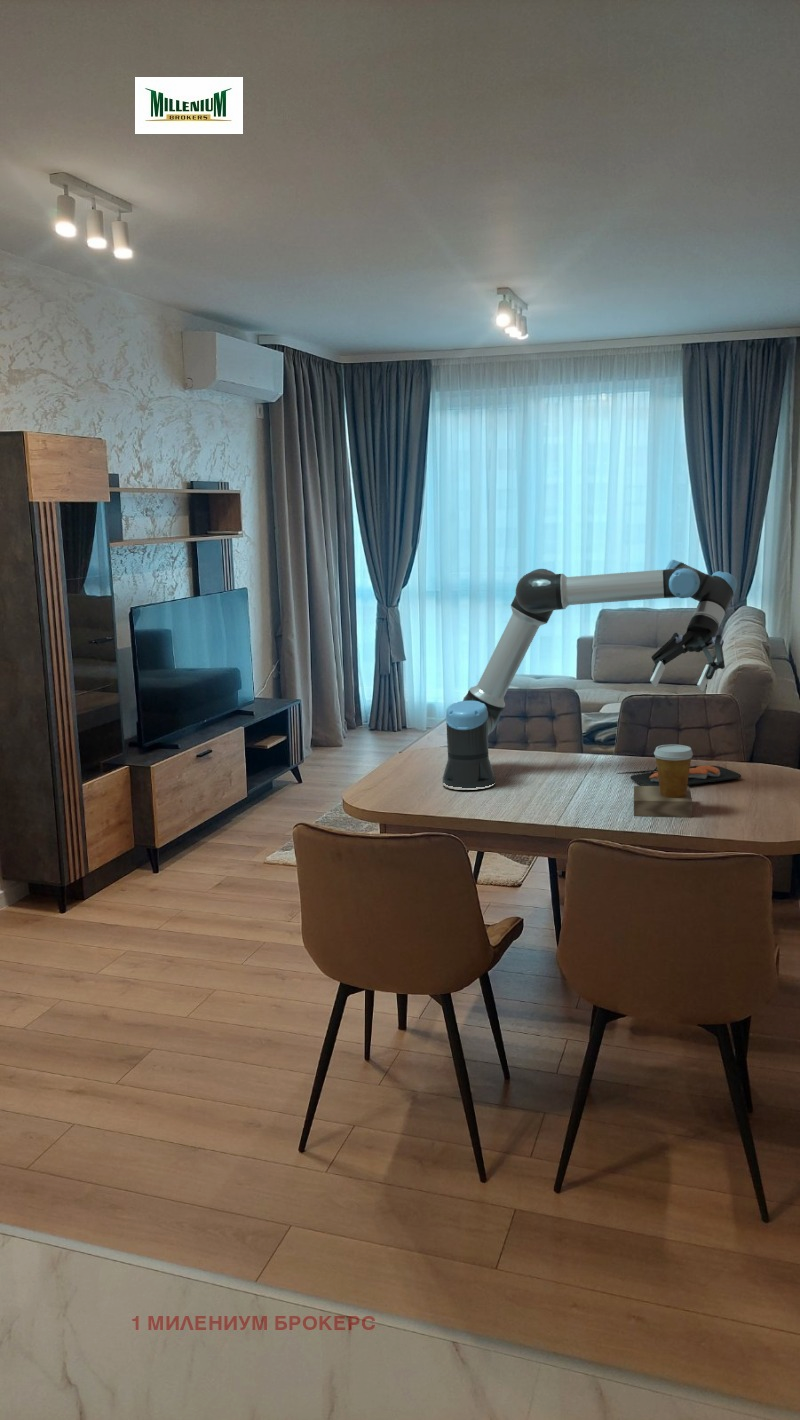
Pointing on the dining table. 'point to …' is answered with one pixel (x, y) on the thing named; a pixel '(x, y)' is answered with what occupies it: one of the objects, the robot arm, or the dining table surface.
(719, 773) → the sushi plate
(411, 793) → the dining table surface
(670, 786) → the disposable coffee cup
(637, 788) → the walnut base
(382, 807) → the dining table surface
